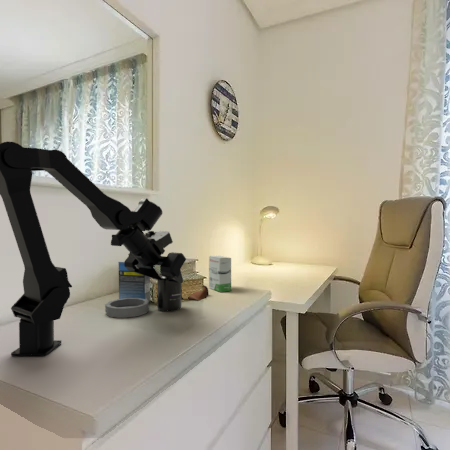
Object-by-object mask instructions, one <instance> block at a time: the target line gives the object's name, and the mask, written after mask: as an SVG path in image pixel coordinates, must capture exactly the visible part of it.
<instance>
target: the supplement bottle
mask: <svg viewBox="0 0 450 450" xmlns="http://www.w3.org/2000/svg"><path fill="white" fill-rule="evenodd" d="M160 273H161V275H159V278H158V280H157V283H156V284H157V288H156V289H157V298H156V299H157V300H156V304H157V305H156V306H157V307H156V308H157V309H158V310H159V311H160V312H176V311H178V310H181V308H182V302H183V299H182V284H183V283H182V284H180V283H178V282H176V281H173V280H171V279H169V278H167V277H165V275H164V274H162V272H161V271H160Z"/></svg>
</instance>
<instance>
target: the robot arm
mask: <svg viewBox="0 0 450 450" xmlns="http://www.w3.org/2000/svg"><path fill="white" fill-rule="evenodd" d="M36 171H37V172H38V171H41V172H42V171H45V172H47V173H48V174H49V175H50V176H51V177H52V178H54V179H55V180H56V181H58V182H59V184H60V185H62V186H63V188H65V189H66V190H68V191H69V193H71V194H72V195H73V196H74V197H75V198H77V199H78V200H79V201H80V202H81V203H82V204H83V205H85V206H86V207H87V208H88V210H89V211H90V214H91V217H92V218H93V220H94V221H95V222H96V224H98V225H99V227H100V228H102V229H104V230H111V231H112V230H114V231H117V233H116V234H111V240H110V246H112V247H113V246H114V247H122V246H123V247H124V248H125V249H126V250H127V251H128V252H129V253H128V256H127V258H126V259H125V261H123V262H124V267H125V268H126V269H127V270H129V271H132V272H135V273H138V274H141V275H144V276H147V277H150V278H151V279H153V280H157V281H158V278H159V277H160V275H159V274H158V272H157V270H156V269H155V268H154V267H155V266H160V269H159V270H160V273H161V272H162V273H161V275H162V274H164V275H165V277H167V278H169V279H171V280H173V281H176V282H178V283H180V284H183V283H184V279H183V275H182V274H183V273H182V270H181V269H182V267H183V266H184V263H185V262H186V260H187V258H186V256H185V255H184V254H183V253H182V252H168V254H167V255H166V256H163V255H164V253H165V252H166V250H165V248H166V247H168V246H169V245H171V244H173V242H174V241H173V239H172V236H171V234H170V231H167V230H165V231H164V230H162V231H161V230H160V231H154V230H152V229H153V227H154V226H155V225H156V223H157V222H158V221H159V219H160V218H161V216H162V215H163V210H162V208H161V206H159V205H158V204H156V203H155V202H152V201H150V200H149V198H147V197H146V198H141V199H140V200H139V202H138V204H137V205H136V206H135V208H134V209H133V210H131V209H130V208H129V207H128V206H127V205H125V204H123V202H121V201H119V200H118V199H115V198H113V197H110V196H109V195H107V194H106V193H104V192H103V191H102V190H101V189H100V188H99V187H98V186H97V185H96V184H95V183H94V182H93V181H92V180H91V179H89V177H87V175H85V174H84V173H83V172H82V171H81V170H80V169H79V168H78V167H77V166H76V165H74V163H72V161H70V159H68V157H67V155H66V154H65V153H64V152H63V151H61V150H60V149H59V150H58V149H45V148H38V147H24V146H22V145H21V144H19V143H17V142H15V141H4V142H0V196H1V199H2V202H3V205H4V208H5V211H6V214H7V216H8V217H7V218H8V220H9V223H10V226H11V230H12V232H13V233H12V234H13V235H14V238H15V242H16V245H17V248H18V251H19V254H20V256H21V260H22V263H23V267H24V272H23V279H22V287H23V294H22V295H21V296H20V297H19V298H18V299H17V300H16V302H14V303H13V305H11V307H10V309H11V312H12V314H13V316H14V317H15V318H19V321H18V327H19V328H18V340H19V341H18V345H19V347H18V348H16V349H15V350H13V351H12V352H10V355H11V356H14V357H15V356H16V357H23V356H25V357H27V356H28V357H34V356H35V357H36V356H37V357H42V356H47V355H48V354H50V353H51V352H52V351H53V350H55V349H56V348H57V347H59V346H60V345H61V344H62V340H55V323H54V322H55V321H56V320H60V319H61V317H62V313H63V311H64V307H65V305H66V303H67V302H68V300H69V299H70V297H71V292H70V288H72V287H73V286H72V284H71V283H70V280H69V277H68V271H67V268H65V267H60V266H55V264H54V263H53V262H52V260H51V259H52V258H51V257H50V252H49V249H48V246H47V242H46V239H45V236H44V233H43V230H42V227H41V223H40V220H39V217H38V213H37V209H36V206H35V203H34V200H33V197H32V196H33V195H32V194H31V188H32V187H31V186H32V180H33V179H32V178H33V172H36ZM145 231H146V232H145ZM144 232H145V233H144Z"/></svg>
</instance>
